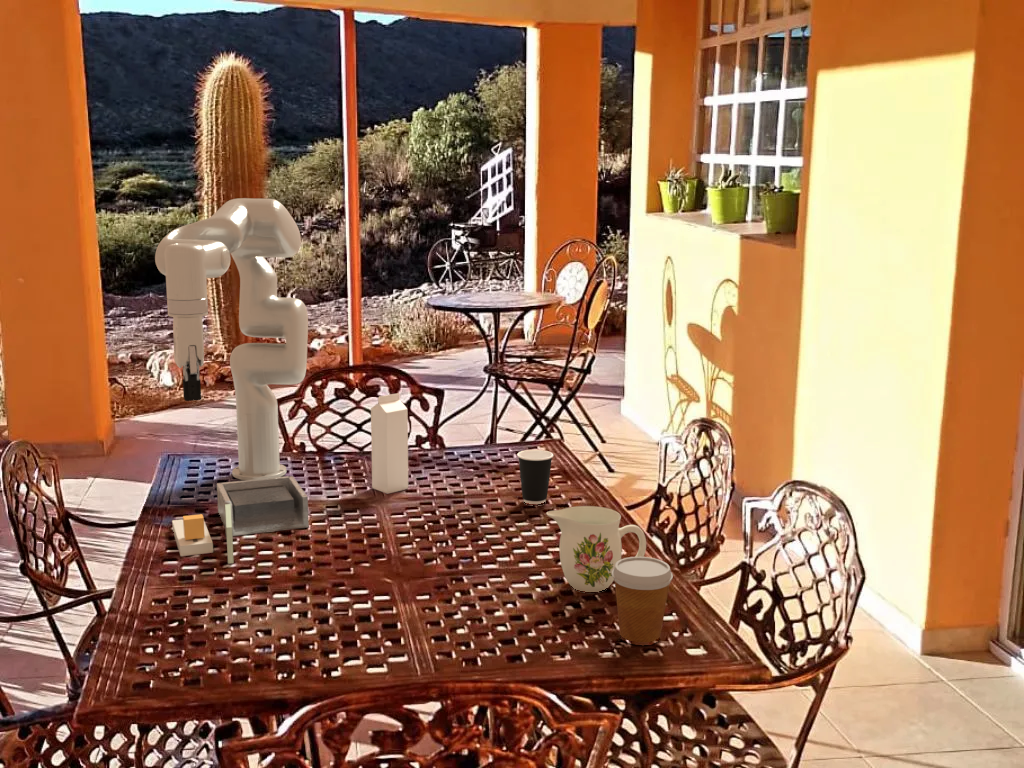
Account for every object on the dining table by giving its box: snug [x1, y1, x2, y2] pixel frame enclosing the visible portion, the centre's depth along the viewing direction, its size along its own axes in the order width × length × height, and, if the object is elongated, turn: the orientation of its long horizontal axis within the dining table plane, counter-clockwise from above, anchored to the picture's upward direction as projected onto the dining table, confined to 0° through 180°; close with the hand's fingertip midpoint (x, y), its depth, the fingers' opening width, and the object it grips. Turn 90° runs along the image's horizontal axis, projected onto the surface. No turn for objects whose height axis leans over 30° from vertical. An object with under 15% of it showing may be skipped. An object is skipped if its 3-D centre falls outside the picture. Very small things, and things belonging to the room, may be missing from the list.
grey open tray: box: [216, 475, 309, 537], centre depth 226 cm, size 16×16×6 cm
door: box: [224, 501, 235, 564], centre depth 208 cm, size 1×16×7 cm, turn 15°
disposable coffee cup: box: [612, 556, 674, 642], centre depth 171 cm, size 10×10×12 cm
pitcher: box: [546, 505, 647, 593], centre depth 192 cm, size 11×18×14 cm, turn 97°
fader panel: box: [171, 518, 214, 557], centre depth 213 cm, size 16×6×2 cm, turn 22°
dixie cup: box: [516, 449, 554, 504], centre depth 239 cm, size 8×8×11 cm
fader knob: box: [182, 513, 205, 540], centre depth 209 cm, size 2×4×4 cm, turn 112°
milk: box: [370, 392, 409, 494], centre depth 247 cm, size 6×6×22 cm
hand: (192, 399), depth 214 cm, fingers closed
